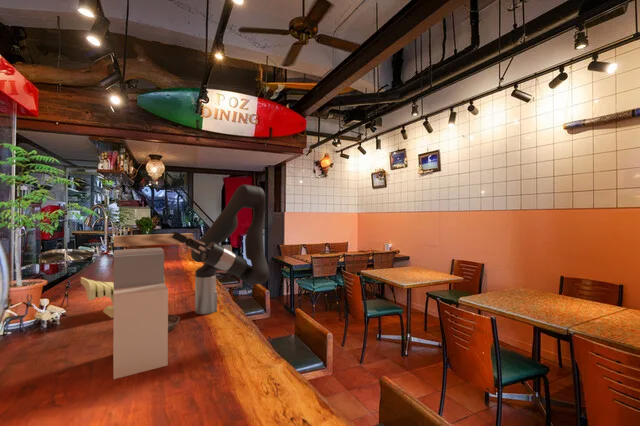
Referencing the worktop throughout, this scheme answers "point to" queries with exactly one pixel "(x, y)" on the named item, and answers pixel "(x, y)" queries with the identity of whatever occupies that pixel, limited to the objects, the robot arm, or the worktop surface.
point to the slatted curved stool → (100, 292)
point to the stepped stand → (139, 312)
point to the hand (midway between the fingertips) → (173, 234)
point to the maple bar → (147, 239)
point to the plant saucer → (172, 321)
